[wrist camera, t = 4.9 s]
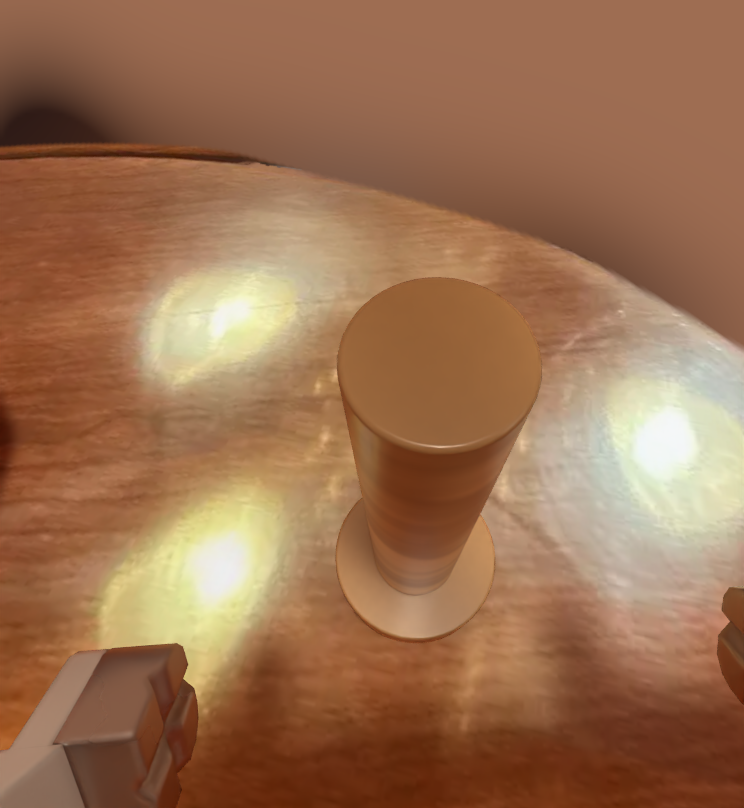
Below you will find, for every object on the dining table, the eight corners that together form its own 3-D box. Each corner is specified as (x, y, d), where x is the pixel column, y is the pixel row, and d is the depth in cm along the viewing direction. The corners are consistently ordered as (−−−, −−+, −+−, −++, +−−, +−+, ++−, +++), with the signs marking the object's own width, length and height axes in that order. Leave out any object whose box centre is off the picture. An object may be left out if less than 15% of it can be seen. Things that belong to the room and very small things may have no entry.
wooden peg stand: (417, 464, 21) (442, 152, 9) (520, 569, 19) (743, 366, 7) (309, 556, 20) (156, 346, 7) (409, 679, 18) (432, 680, 5)
